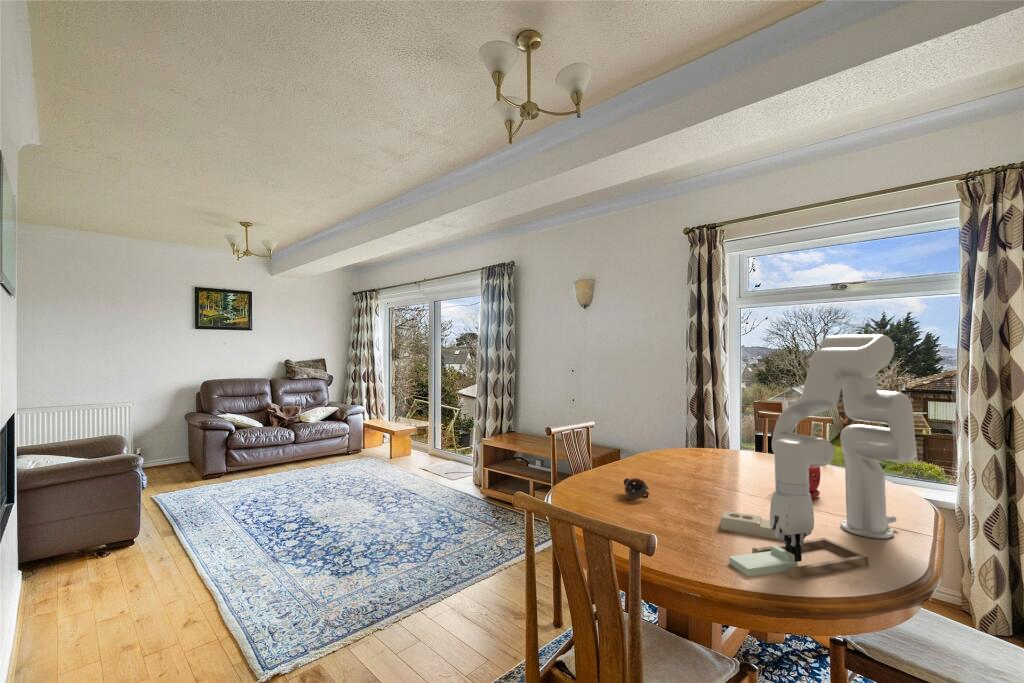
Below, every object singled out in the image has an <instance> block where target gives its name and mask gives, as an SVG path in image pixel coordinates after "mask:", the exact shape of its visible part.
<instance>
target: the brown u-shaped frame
mask: <svg viewBox="0 0 1024 683" xmlns="http://www.w3.org/2000/svg"><path fill="white" fill-rule="evenodd" d="M776 545H777V546H778V547H780V548H782V549H784V550H786V543H783V544H776ZM771 546H772V545H770V546H764V547H755V546H754V547H752V548H751V554H753V553H760V552H768V551H771ZM821 548H825V549H827V550H830V551H832V552H834V553H837V554H839V555H841V556H843V558H837V559H833V560H827V561H823V562H816V563H811V564H805V565H800V566H797V567H791V566H790V567H788V571H787V577H788V578H789V579H791V580H795V579H801V578H806V577H811V576H816V575H822V574H826V573H832V572H837V571H838V572H839V571H844V570H848V569H854V568H859V567H864V566H868V565H870V562H869V561H870V560H869V556H868V555H865V554H863V553H861V552H859V551H856V550H853V549H851V548H848V547H846V546H845V545H842V544H840V543H838V542H835V541H832V540H830V539H827V538H826V537H819V538H814V539H807V540H804V543H803V545H801V552H804V551H805V552H806V551H810V550H815V549H821Z"/></svg>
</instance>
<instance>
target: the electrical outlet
mask: <svg viewBox="0 0 1024 683" xmlns="http://www.w3.org/2000/svg"><path fill="white" fill-rule="evenodd" d="M722 529H724V530H723V531H727V530H729V532H733V531H734V533H739V534H745V535H749V536H750V535H752V536H757V537H763V538H768V539H774V540H779V541H782V540H781V539H778V538H776V537H775V530H773V529H771V528H770V519H763V518H762V516H761V515H757V514H756V515H755V514H748V513H744V512H743V513H742V512H737V511H736V512H735V511H730V510H723V511H722V514H721V516H720V530H722Z"/></svg>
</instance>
